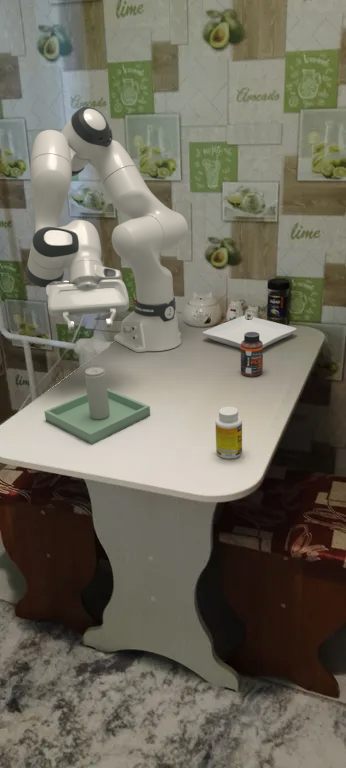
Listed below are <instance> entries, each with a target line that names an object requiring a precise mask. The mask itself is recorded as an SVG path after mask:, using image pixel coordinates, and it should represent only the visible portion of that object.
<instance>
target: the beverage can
mask: <svg viewBox="0 0 346 768" xmlns="http://www.w3.org/2000/svg"><path fill="white" fill-rule="evenodd" d="M84 378H85V379H84V380H85V386H86V393H87V396H88V404H89V411H90V416H91V417H92V418H93V419H96V420H102V419H105V418H107V417H108V416H109V414H110V411H109V402H108V392H107V389H108V385H107V376H106V371H105V368H104V367H102V366H92V367H88V368H86V369H85V372H84Z"/></svg>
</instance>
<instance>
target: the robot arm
mask: <svg viewBox="0 0 346 768" xmlns="http://www.w3.org/2000/svg"><path fill="white" fill-rule="evenodd" d="M32 145H33V146H32V149H31V156H30V169H29V171H30V172H29V173H30V184H31V192H32V193H31V194H32V200H33V201H32V202H33V211H34V212H33V213H34V234H33V237H32V241H31V245H30V251H29V254H28V255H29V256H28V259H27V263H26V266H25V274H26V277H27V279H29V281H30V282H32V283H33V284H34V285H36V286H38V287H41V288H45V295H46V296H47V310H48V315H50V316H51V317H63V321H64V322H65V323H66V324H67V328H68V331H69V332H70V331H75V321H74V320H73V321H71V320H70V316H79V315H95V314H107V313H108V314H110V317H109V318H106V319H105V320H106V328H108V329H109V328H113V327H114V324H113V322H114V320H115V317H116V316H117V313H120V312H121V313H123V312H127V311H128V310H129V308H130V299H129V293H128V290H127V289H128V288H127V287H126V284H125V282H124V281H123V280H122V274H121V273H122V272H121V271H120V270H119V269H116V268H112V267H111V268H110V267H107V266H103V263H102V254H103V252H102V245H101V244H102V243H101V239H100V235H99V232H98V230H97V228H96V227H95V225H94V224H93V223H91V222H90V221H87V220H84V219H75V220H72V221H70V222H69V223H68V224H66V225H64V226H59V224H60V218H61V216H62V212H63V209H64V206H65V203H66V201H67V198H68V195H69V192H70V188H71V183H72V179H73V178H72V177H75V176H77V175H78V174H80V173H81V172H83V170H84V169H85V167H86V166H87V165H88V164H89V165H91V166H92V167H93V168H94V169H95V170H96V172H97V175H98V178H99V179H100V182H101V185H102V186H103V188H104V190H105V191H106V193H107V195H108V197H109V199H110V201H111V204H112V205H113V207H114V208H115V209H116V210H117V212H120V213H122V214H124V215H127V216H128V217H129V218H131V219H128V220H125V221H123V222H122V223H120V224H118V225H117V226H115V227H114V228H113V231H112V234H111V244H112V247H113V250H114V251H115V253H116V254H117V255H118V256H119V257H120V258H122V259H123V260H124V261H126V263H128V265H129V267H130V269H131V271H132V274H133V277H134V284H135V291H136V299H134V300H132V301H131V305H134V308H133V311H131V312H130V313H129V314H128V315H127V316H126V317H125V318H124V319H122V321H121V324H120V332H118V333H116V334H115V335H114V337H113V340H114V341H115V342H117V343H119V344H121V345H122V346H124V347H126V348H127V349H130V350H131V351H132V352H135V353H143V352H161V351H168V350H171V349H174V348H176V347H178V346H180V345H181V344H182V339H181V337H182V333H181V331H180V329H179V328H180V327H179V322H178V316H177V312H176V310H177V309H176V308H177V307H176V305H177V303H176V298H175V297H174V285H173V284H174V283H173V281H174V279H173V274H172V272H171V270H170V269H168V267H165V265H164V266H163V265H162V264H161V263H160V260H159V259H160V258H159V253H162V252H166V251H170V250H173V249H175V248H176V247H179V246H180V245H181V244H183V243H184V242H185V241H186V240H187V238H188V235H189V226H188V222H187V220H186V218H185V217H184V216H183V215H182V213H179V212H177V211H175V210H172V209H170V208H169V207H168V206H166V205H165V204H164V203H163V202H161V201H160V200H159V199H158V198H157V196H155V194H153V192H152V191H151V190H150V189H149V187H148V186H147V184H146V182H145V180H144V179H143V177H142V175H141V173H140V171H139V170H138V168H137V165H136V164H135V162H134V161H133V159H132V158H131V156H130V154H129V153H128V152H127V151H126V149H125V148H124V147H123V146H122V144H121V143H120V142H119V141H117V140H114V139H113V133H112V130H111V129H110V125H109V123H108V121H107V120H106V117H105V116H104V115H103V113H102V112H101V111H99V110H98V109H96V108H94V107H91V106H83V107H80V108H79V109H78V110H76V111H75V112H74V113H73V114H72V116H71V118H70V119H69V120H68V122H67V123H66V124H65V125H64V127H63V128H62V130H61V131H58V130H56V129H45V130H43V131H41V132H39V133H38V134H37V135H36V137H35V138H34V143H33V144H32ZM65 269H67V270H68V279H67V280H63V279H64V274H65Z"/></svg>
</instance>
